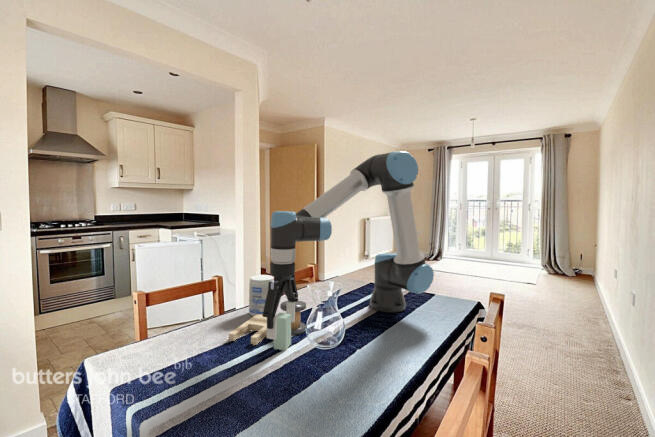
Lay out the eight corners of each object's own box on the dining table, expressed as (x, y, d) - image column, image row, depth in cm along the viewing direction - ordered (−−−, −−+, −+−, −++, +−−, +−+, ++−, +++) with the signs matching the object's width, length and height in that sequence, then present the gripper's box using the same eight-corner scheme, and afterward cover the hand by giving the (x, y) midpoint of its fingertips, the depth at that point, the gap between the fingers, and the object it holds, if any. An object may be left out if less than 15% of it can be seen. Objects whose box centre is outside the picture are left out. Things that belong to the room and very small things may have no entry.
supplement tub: (251, 319, 120) (251, 281, 119) (247, 311, 129) (247, 275, 128) (276, 316, 124) (276, 279, 123) (270, 308, 132) (270, 273, 131)
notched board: (257, 320, 119) (257, 314, 119) (281, 323, 116) (281, 317, 116) (228, 341, 102) (228, 333, 101) (256, 345, 99) (256, 338, 99)
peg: (279, 343, 101) (279, 312, 100) (291, 345, 100) (291, 314, 99) (273, 348, 97) (273, 317, 96) (285, 350, 96) (285, 318, 95)
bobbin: (286, 322, 117) (286, 299, 116) (309, 326, 114) (309, 301, 114) (275, 332, 108) (275, 307, 108) (300, 336, 106) (300, 310, 105)
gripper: (288, 254, 109) (287, 314, 111) (250, 268, 86) (249, 344, 87) (308, 255, 107) (307, 317, 109) (275, 271, 83) (274, 349, 85)
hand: (281, 329), depth 98 cm, fingers open, 13 cm apart
